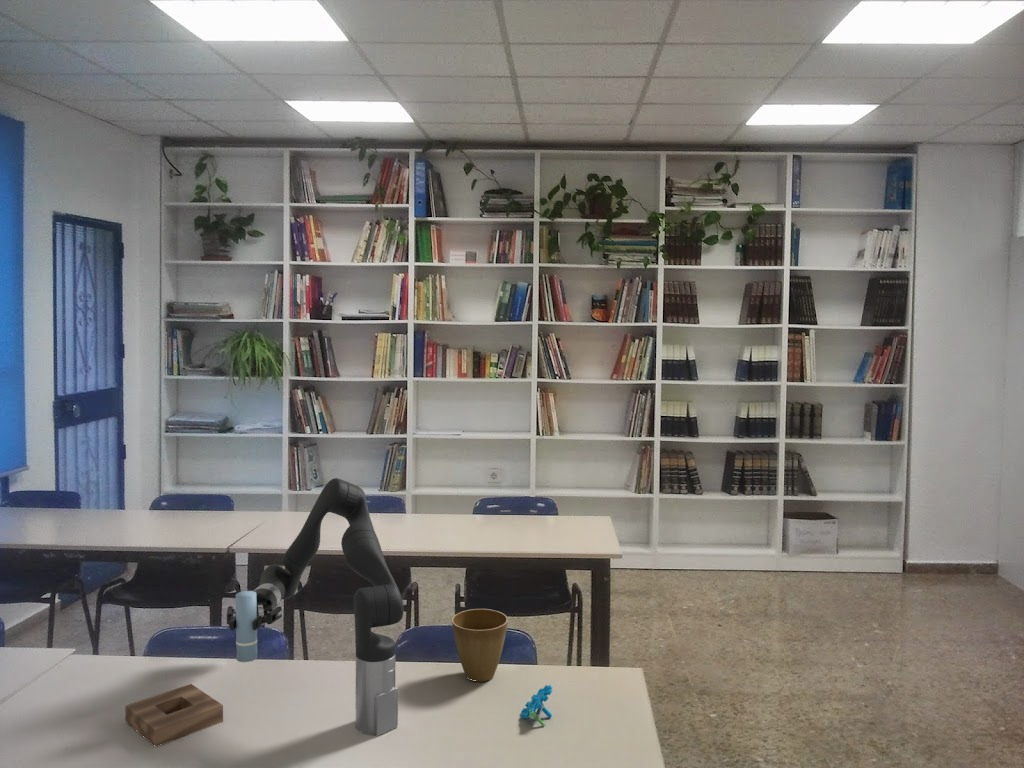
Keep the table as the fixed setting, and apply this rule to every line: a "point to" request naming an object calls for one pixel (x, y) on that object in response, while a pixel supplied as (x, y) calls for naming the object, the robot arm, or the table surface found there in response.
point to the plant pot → (479, 641)
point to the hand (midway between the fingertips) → (243, 626)
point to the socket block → (173, 714)
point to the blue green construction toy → (537, 705)
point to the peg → (246, 626)
